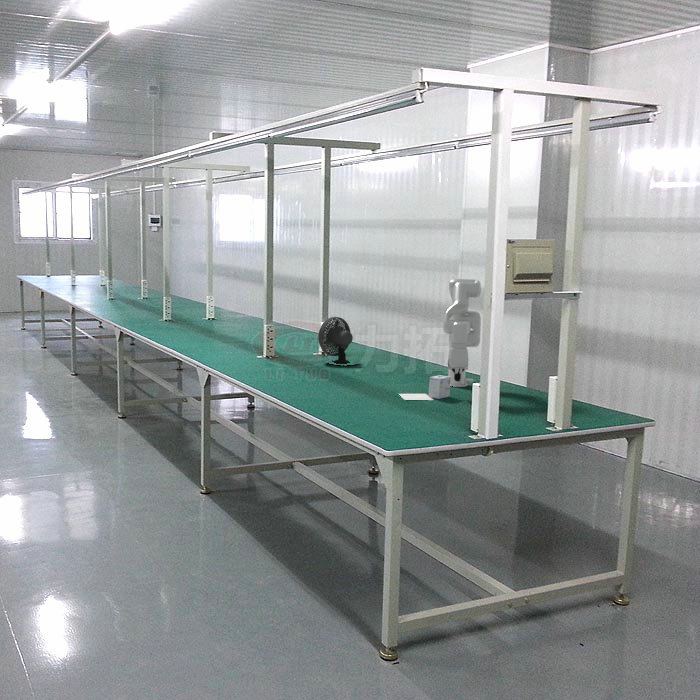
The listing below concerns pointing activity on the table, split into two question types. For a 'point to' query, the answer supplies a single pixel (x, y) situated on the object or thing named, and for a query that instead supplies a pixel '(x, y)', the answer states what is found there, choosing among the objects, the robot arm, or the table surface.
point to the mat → (415, 397)
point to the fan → (335, 338)
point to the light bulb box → (439, 386)
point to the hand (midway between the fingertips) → (457, 380)
